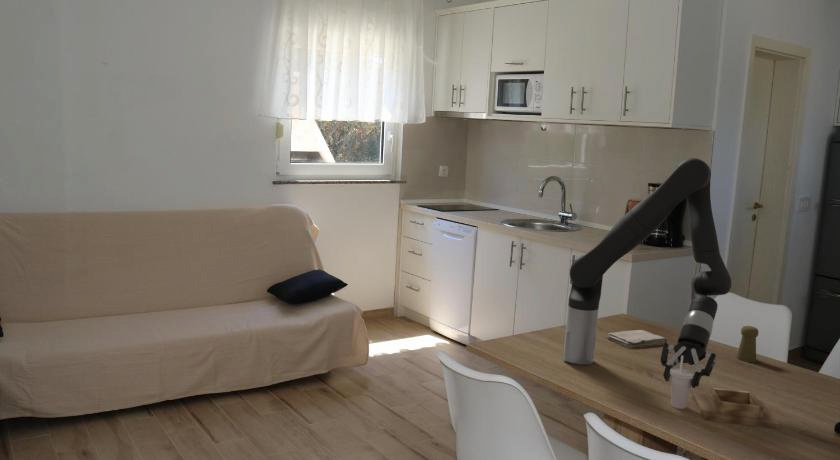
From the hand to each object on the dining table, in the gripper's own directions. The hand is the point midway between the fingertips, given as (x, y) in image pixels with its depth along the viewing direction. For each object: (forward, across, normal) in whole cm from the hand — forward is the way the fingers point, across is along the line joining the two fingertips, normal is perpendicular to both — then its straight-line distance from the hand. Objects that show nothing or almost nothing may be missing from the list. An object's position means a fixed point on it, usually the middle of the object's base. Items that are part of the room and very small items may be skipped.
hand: (679, 383), depth 192 cm
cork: (-37, +6, +47) cm, 60 cm away
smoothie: (+4, 0, +6) cm, 7 cm away
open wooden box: (0, +13, +10) cm, 16 cm away
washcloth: (-32, -28, +42) cm, 60 cm away
